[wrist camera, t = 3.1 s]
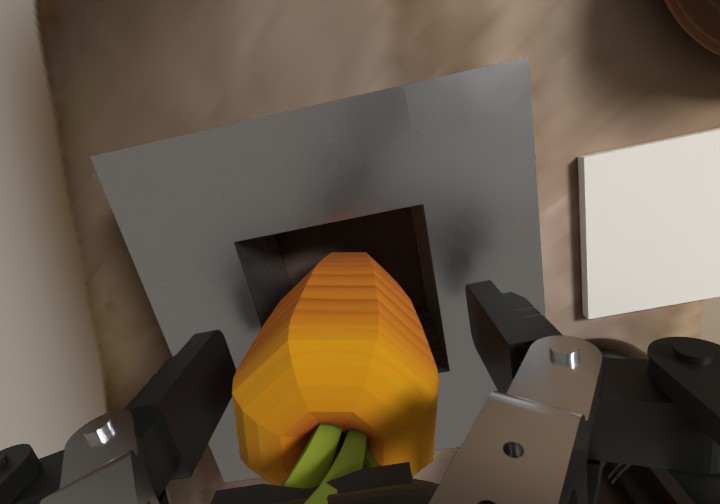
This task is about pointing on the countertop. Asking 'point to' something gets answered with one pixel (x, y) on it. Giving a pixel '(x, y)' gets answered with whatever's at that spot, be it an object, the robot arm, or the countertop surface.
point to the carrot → (337, 380)
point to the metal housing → (340, 216)
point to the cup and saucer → (699, 20)
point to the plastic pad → (650, 224)
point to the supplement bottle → (624, 481)
